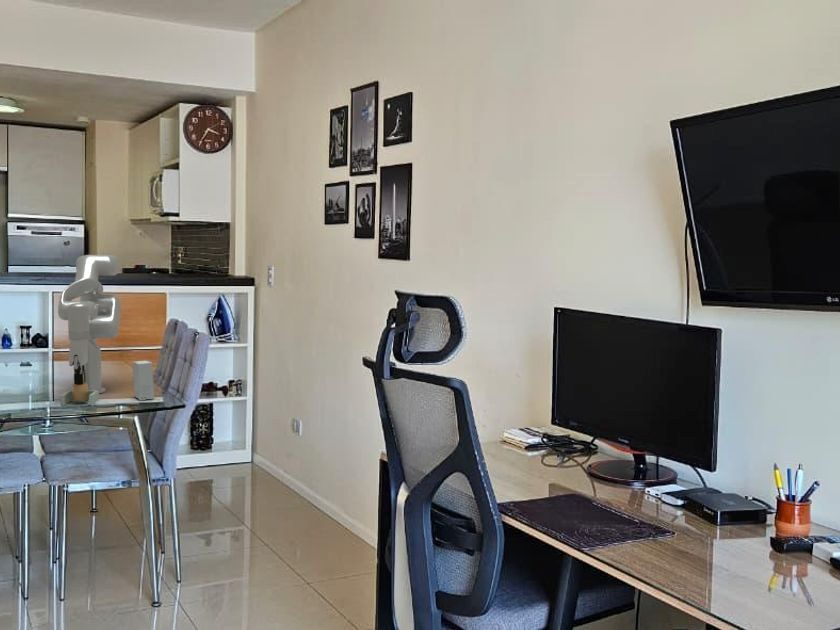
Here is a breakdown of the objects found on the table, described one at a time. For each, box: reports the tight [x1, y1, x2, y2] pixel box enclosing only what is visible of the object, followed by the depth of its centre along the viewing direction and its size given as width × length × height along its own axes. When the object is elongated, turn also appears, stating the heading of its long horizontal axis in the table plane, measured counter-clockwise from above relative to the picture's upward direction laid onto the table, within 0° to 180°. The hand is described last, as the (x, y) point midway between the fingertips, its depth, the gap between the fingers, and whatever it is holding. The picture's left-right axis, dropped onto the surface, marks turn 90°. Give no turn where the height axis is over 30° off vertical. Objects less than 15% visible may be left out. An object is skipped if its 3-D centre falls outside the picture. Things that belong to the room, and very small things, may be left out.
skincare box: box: [132, 360, 155, 401], centre depth 354 cm, size 8×6×15 cm
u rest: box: [60, 390, 100, 407], centre depth 344 cm, size 10×11×4 cm
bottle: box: [71, 371, 88, 402], centre depth 343 cm, size 6×6×11 cm
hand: (79, 382), depth 343 cm, fingers closed on bottle, 3 cm apart
